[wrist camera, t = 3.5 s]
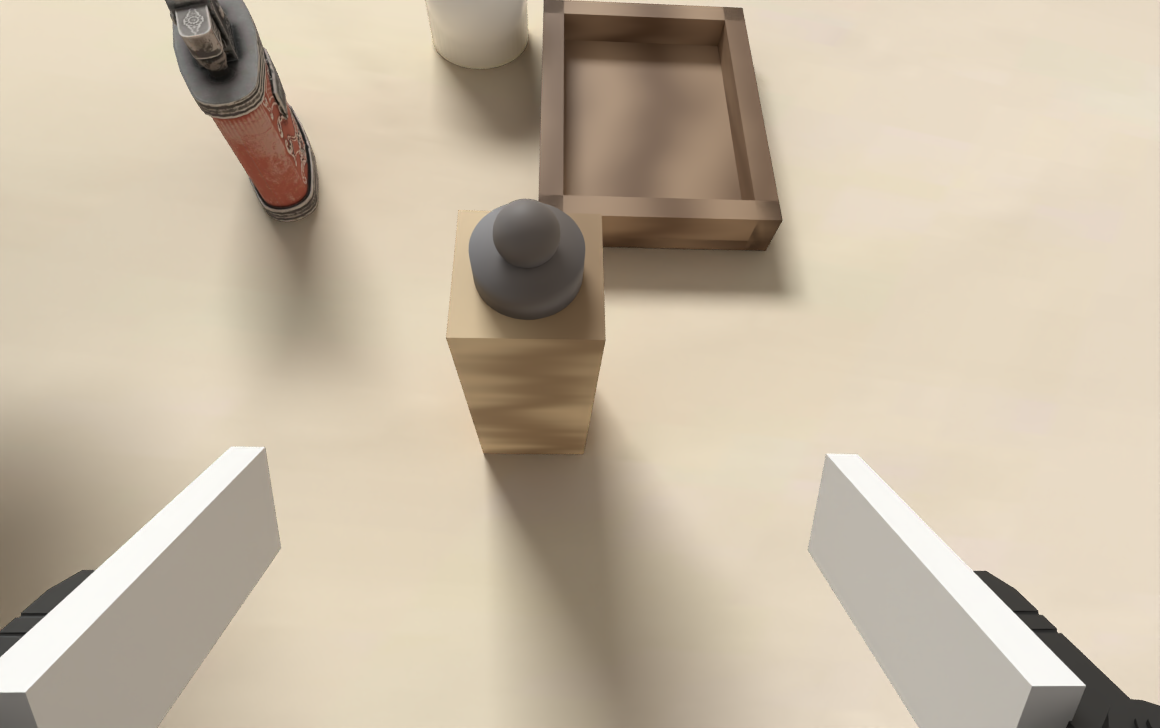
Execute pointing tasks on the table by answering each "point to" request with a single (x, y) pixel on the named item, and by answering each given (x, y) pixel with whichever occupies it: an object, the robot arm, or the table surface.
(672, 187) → the tray
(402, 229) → the table surface
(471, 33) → the white pillar candle
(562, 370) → the pepper mill
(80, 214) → the table surface
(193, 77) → the lighter
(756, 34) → the table surface
